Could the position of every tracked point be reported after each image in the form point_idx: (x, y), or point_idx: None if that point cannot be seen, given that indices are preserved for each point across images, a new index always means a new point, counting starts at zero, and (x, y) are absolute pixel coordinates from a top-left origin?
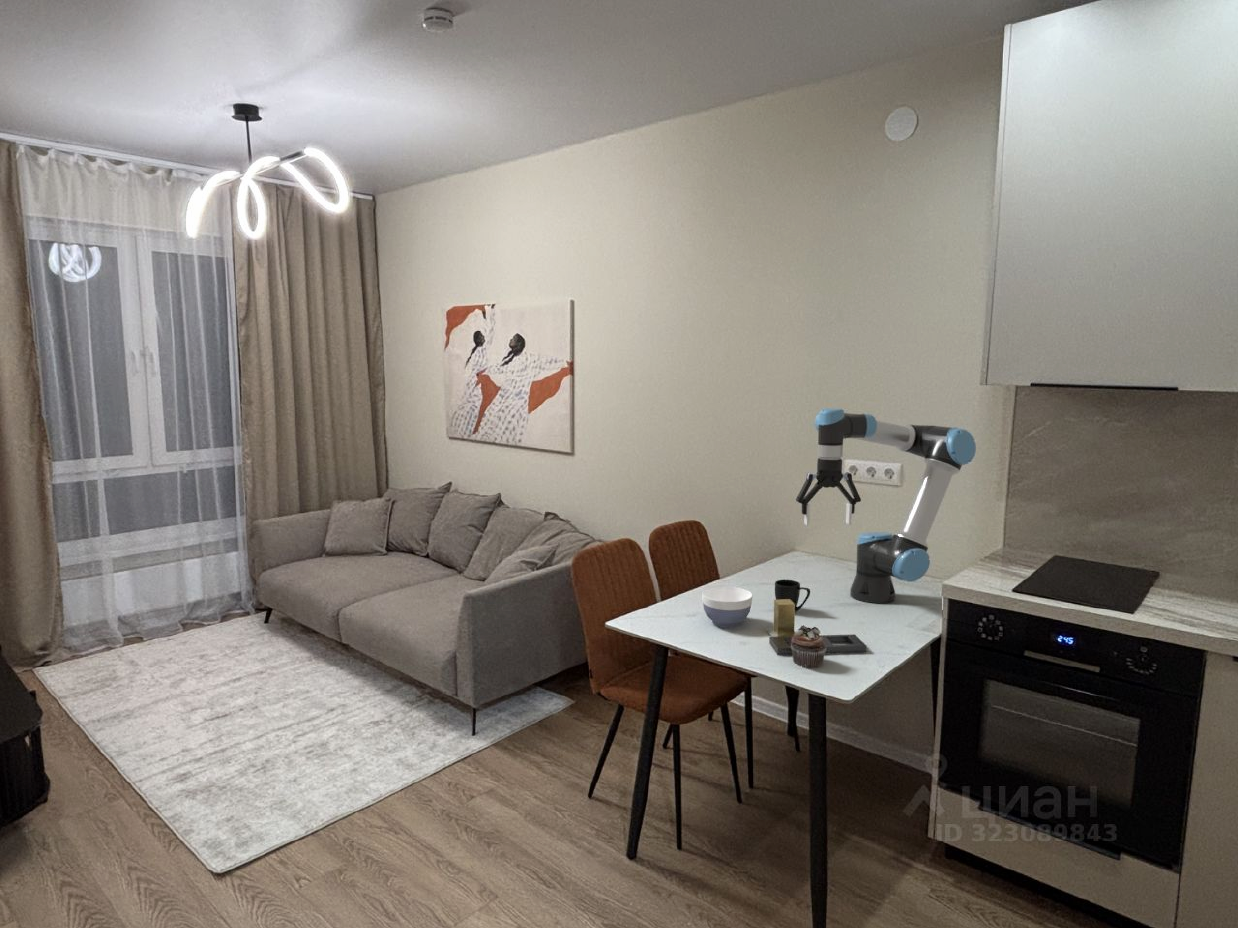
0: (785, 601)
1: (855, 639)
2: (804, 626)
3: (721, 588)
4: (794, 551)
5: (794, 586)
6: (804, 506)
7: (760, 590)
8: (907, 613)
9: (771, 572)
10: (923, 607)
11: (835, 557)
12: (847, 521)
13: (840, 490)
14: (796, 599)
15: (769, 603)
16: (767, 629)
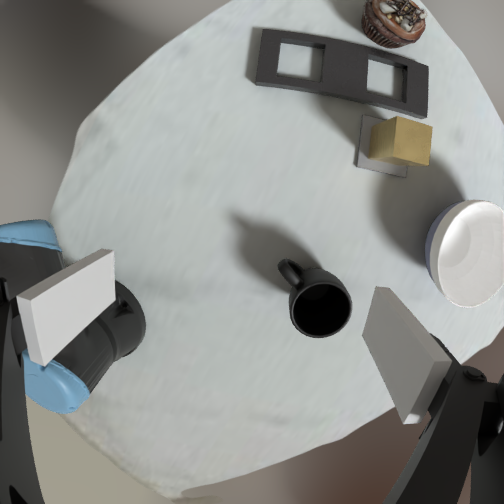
0: (409, 144)
1: (268, 58)
2: (409, 18)
3: (465, 304)
4: (169, 498)
5: (318, 281)
6: (454, 367)
7: (306, 394)
8: (84, 216)
9: (240, 457)
10: None
11: (119, 468)
12: (108, 279)
13: (25, 453)
14: (305, 273)
15: None
16: (405, 175)
